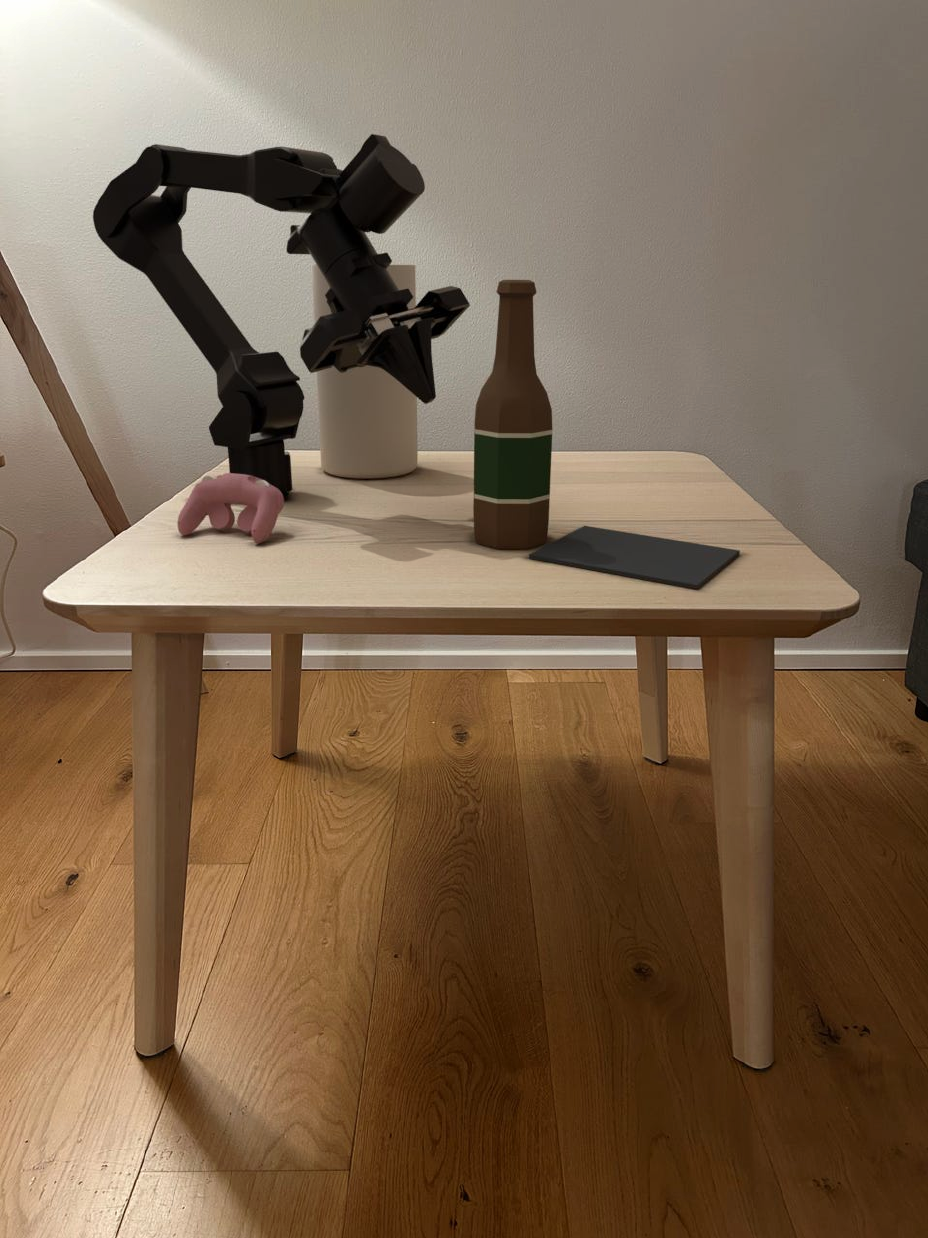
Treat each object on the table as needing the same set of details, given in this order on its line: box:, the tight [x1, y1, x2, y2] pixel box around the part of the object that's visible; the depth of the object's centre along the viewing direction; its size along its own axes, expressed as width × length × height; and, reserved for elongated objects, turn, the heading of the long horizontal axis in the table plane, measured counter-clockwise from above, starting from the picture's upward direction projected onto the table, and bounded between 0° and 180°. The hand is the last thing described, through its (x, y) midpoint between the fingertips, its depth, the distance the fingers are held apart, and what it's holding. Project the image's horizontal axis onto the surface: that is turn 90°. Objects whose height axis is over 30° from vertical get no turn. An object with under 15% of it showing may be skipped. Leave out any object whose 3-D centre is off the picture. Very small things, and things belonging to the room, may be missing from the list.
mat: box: [528, 525, 741, 590], centre depth 87 cm, size 16×12×1 cm
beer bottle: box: [472, 279, 553, 550], centre depth 88 cm, size 8×8×24 cm
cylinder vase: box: [310, 263, 419, 480], centre depth 118 cm, size 12×12×25 cm
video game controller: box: [176, 472, 285, 545], centre depth 93 cm, size 10×5×7 cm, turn 71°
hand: (430, 400), depth 92 cm, fingers closed
